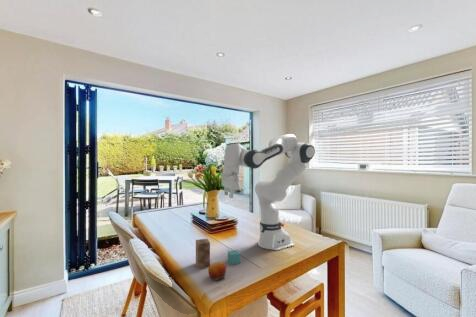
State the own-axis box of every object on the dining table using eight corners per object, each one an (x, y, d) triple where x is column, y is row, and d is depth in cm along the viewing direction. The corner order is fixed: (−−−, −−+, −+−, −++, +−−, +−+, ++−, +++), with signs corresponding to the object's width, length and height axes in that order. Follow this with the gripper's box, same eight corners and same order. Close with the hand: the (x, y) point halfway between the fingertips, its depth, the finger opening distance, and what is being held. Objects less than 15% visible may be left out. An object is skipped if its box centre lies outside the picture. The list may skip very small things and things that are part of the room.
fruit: (216, 282, 96) (211, 263, 100) (208, 285, 102) (204, 266, 105) (232, 277, 101) (227, 258, 104) (224, 279, 107) (219, 261, 110)
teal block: (236, 259, 122) (237, 249, 122) (240, 263, 117) (240, 253, 117) (228, 260, 120) (228, 251, 120) (230, 264, 116) (231, 255, 116)
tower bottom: (207, 261, 119) (207, 250, 119) (209, 266, 114) (209, 254, 114) (195, 263, 117) (195, 251, 117) (197, 268, 112) (197, 256, 112)
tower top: (207, 250, 119) (207, 238, 119) (209, 254, 114) (209, 242, 113) (195, 251, 117) (195, 239, 117) (197, 256, 112) (197, 244, 111)
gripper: (242, 173, 118) (240, 199, 118) (230, 170, 138) (228, 193, 137) (231, 172, 116) (228, 199, 116) (220, 170, 136) (218, 193, 135)
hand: (228, 196), depth 127 cm, fingers open, 8 cm apart
